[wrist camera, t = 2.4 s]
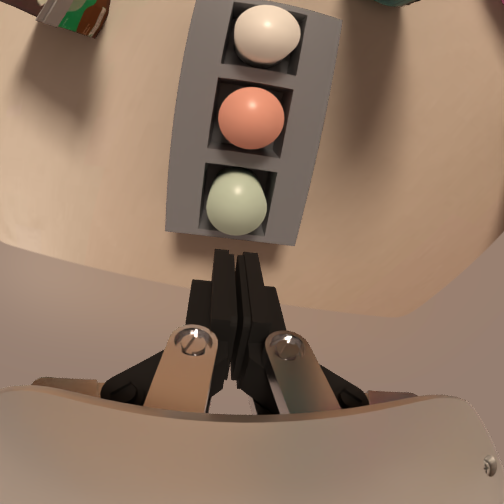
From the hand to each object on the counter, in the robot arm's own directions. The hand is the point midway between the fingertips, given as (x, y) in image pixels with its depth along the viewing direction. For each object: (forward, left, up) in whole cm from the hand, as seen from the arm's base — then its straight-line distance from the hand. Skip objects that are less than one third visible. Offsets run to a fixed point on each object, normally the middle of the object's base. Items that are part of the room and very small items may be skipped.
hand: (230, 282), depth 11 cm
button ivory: (0, -12, -12) cm, 17 cm away
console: (0, -6, -14) cm, 15 cm away
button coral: (0, -6, -12) cm, 14 cm away
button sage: (0, 0, -12) cm, 12 cm away
